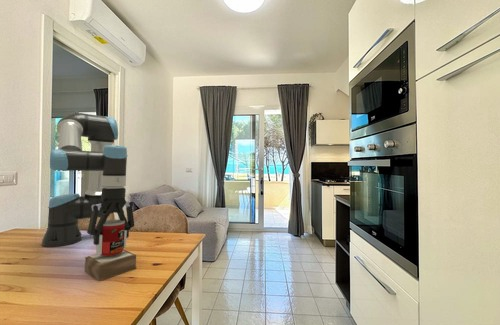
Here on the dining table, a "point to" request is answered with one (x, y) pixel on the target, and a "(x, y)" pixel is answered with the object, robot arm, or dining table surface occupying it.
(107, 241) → the canned food
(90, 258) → the base block
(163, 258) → the dining table surface
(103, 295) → the dining table surface
